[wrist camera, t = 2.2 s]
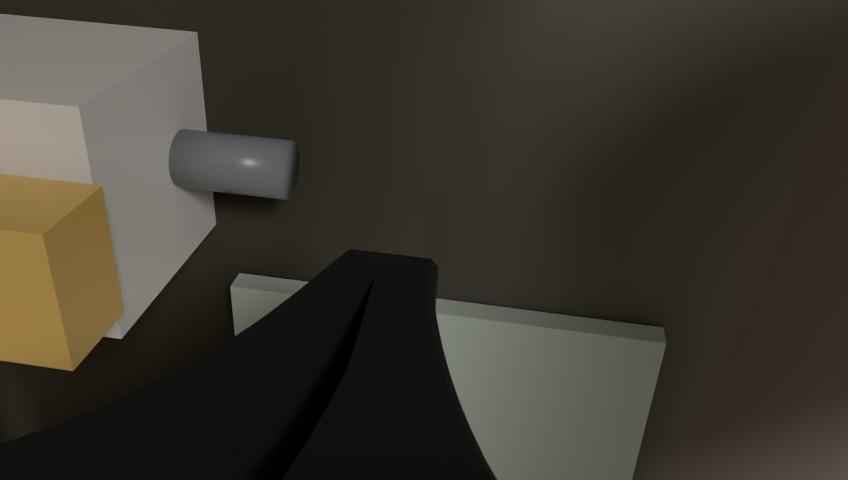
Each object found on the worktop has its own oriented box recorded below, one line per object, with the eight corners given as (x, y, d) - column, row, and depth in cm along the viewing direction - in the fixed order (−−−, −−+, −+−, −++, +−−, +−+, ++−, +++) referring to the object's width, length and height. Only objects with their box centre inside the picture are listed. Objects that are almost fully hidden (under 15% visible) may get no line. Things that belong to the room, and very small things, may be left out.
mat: (663, 327, 18) (666, 343, 17) (605, 560, 22) (606, 579, 21) (239, 273, 19) (230, 286, 18) (259, 504, 23) (252, 520, 22)
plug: (307, 41, 16) (220, 121, 12) (312, 233, 18) (241, 356, 14) (-25, 10, 17) (-210, 76, 13) (20, 198, 19) (-125, 304, 15)
